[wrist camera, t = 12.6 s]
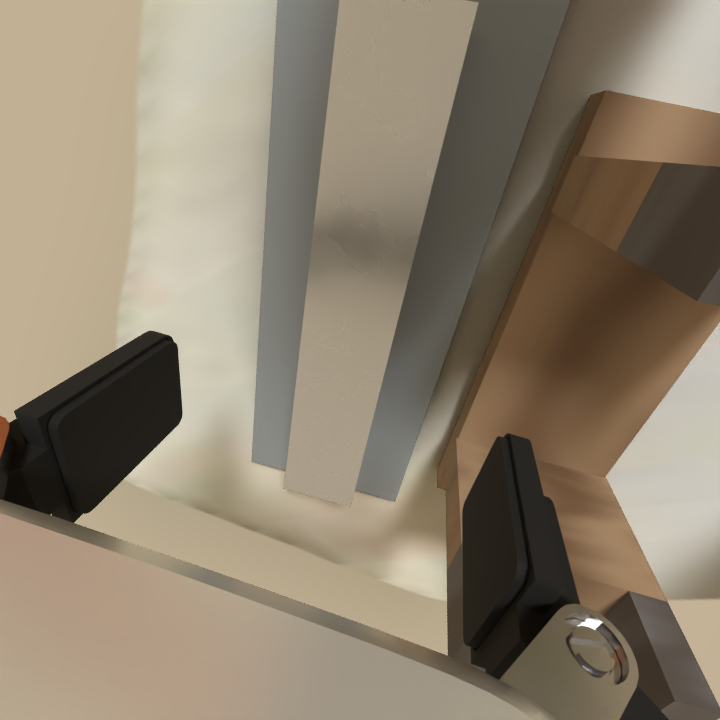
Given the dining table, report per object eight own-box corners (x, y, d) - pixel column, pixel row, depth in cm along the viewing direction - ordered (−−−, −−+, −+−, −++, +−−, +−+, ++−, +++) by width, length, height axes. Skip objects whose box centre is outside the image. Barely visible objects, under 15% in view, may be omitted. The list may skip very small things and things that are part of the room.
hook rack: (818, 141, 14) (1769, 132, 4) (564, 504, 24) (651, 755, 14) (588, 94, 14) (915, -17, 4) (435, 469, 24) (432, 687, 15)
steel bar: (471, 30, 13) (478, 2, 11) (359, 469, 25) (350, 507, 22) (360, 9, 14) (342, -23, 11) (300, 453, 25) (283, 488, 22)
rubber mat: (574, -24, 13) (581, -33, 12) (396, 492, 26) (394, 501, 25) (290, -76, 14) (282, -88, 13) (256, 453, 27) (251, 461, 26)
